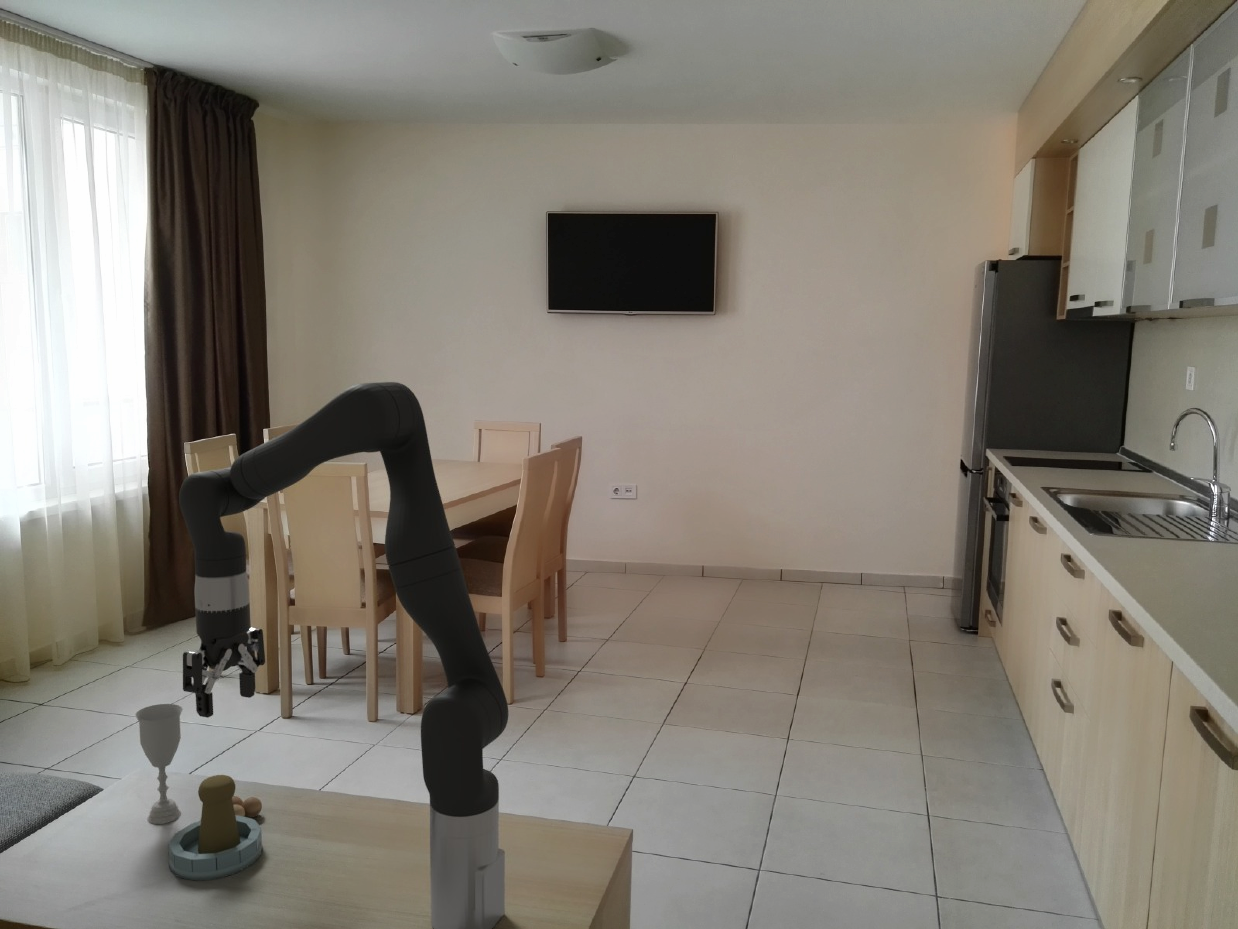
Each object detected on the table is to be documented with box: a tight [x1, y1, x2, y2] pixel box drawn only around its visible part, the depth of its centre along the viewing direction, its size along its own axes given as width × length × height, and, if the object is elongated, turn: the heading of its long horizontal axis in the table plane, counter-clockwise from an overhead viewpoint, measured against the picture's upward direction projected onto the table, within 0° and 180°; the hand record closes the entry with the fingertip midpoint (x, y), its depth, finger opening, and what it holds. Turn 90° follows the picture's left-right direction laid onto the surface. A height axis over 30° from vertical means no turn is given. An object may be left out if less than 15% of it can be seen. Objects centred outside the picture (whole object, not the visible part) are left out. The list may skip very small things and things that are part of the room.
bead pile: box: [232, 795, 263, 819], centre depth 153 cm, size 6×6×3 cm
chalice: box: [135, 703, 184, 825], centre depth 153 cm, size 7×7×18 cm
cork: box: [197, 774, 241, 854], centre depth 142 cm, size 6×6×11 cm
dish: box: [167, 815, 263, 881], centre depth 143 cm, size 13×13×3 cm
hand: (227, 706), depth 142 cm, fingers open, 8 cm apart
